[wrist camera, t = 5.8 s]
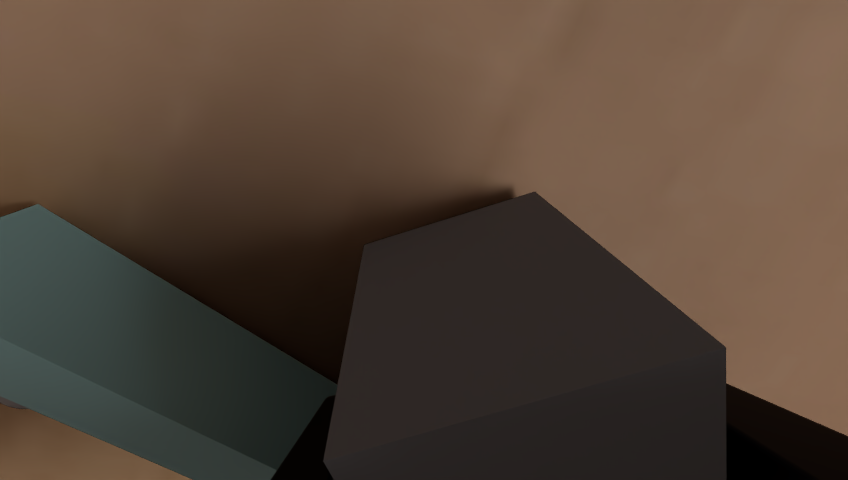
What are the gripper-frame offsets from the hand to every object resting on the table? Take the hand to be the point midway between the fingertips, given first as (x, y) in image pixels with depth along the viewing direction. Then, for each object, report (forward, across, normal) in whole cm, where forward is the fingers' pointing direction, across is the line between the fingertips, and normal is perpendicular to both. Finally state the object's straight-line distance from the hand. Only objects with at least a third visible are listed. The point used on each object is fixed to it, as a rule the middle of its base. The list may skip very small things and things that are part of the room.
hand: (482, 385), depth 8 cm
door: (+2, +4, +2) cm, 5 cm away
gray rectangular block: (+2, -1, 0) cm, 3 cm away
